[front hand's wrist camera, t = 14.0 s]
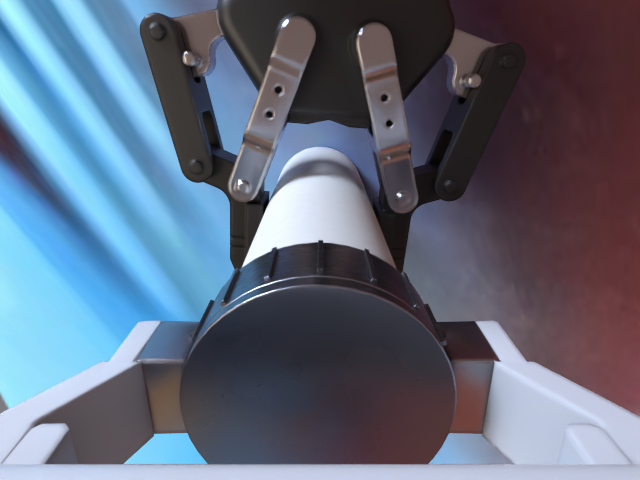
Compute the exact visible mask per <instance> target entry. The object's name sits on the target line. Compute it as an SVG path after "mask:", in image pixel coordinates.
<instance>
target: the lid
mask: <svg viewBox="0 0 640 480" xmlns="http://www.w3.org/2000/svg"><path fill="white" fill-rule="evenodd" d="M191 341H193V342H195V343H194V345H193V347H192V349H191V351H190V353H189V356H188V358H187V360H186V363H185V365H184V368H183V372H182V376H181V381H180V394H179V398H180V408H181V414H182V418H183V422H184V426H185V428H186V430H187V433H188V435H189V437H190V439H191V441H192V443H193V444H194V446H195V448H196V449H197V451H198V452H199V453H200V455H201V456H202V457H203V458H204V460H205V461H206V462H207V463H208V464H428V463H429V462H430V461H431V460H432V459H433V458H434V456H435V455H436V454H437V452H438V451H439V450H440V448H441V447H442V445H443V443H444V441H445V439H446V438H447V436H448V434H449V431H450V428H451V425H452V423H453V419H454V414H455V409H456V392H457V390H456V383H455V376H454V372H453V369H452V366H451V363H450V360H449V358H448V356H447V353H446V351H445V349H444V347H443V346H445V345H447V343H446V341H445V339H444V337H443V334H442V332H441V330H440V328H439V326H438V324H437V322H436V320H435V318H434V316H433V313H432V311H431V309H430V307H429V305H428V304H425V305H424V304H423V302H422V300H421V298H420V296H419V294H418V293H417V291H416V290H415V288H414V287H413V285H412V284H411V283H410V281H409V279H408V277H407V274H406V273H405V272H404V271H402V272H401V273H400V272H399V271H398V270H397V269H395V268H394V267H393V266H392V265H390V264H389V263H387V262H386V261H384V260H382V259H381V258H379V257H377V256H375V255H373V254H371V253H370V252H369V250H368V249H364V250H361V249H357V248H354V247H350V246H347V245H341V244H335V243H323V240H318V242H313V243H302V244H295V245H291V246H286V247H282V248H279V249H277V247H274V248H272V250H271V251H270V252H268V253H266V254H264V255H262V256H260V257H258V258H256V259H254V260H252V261H251V262H249V263H248V264H246V265H245V266H244V267H242V268H241V269H240V270H239V269H238V268H236V269H235V270H234V271H233V273H232V276H231V278H230V279H229V280H228V282H227V283H226V284H225V285H224V286H223V288H222V289H221V291H220V292H219V294H218V295H217V297H216V299H215V301H213V300H210V302H209V304H208V306H207V308H206V310H205V312H204V314H203V316H202V318H201V321H200V323H199V325H198V327H197V329H196V331H195V333H194V335H193V337H192V339H191Z"/></svg>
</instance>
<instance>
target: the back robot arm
mask: <svg viewBox="0 0 640 480" xmlns="http://www.w3.org/2000/svg"><path fill="white" fill-rule="evenodd" d="M140 35H141V38H142V42H143V45H144V48H145V51H146V55H147V58H148V61H149V65H150V68H151V71H152V75H153V78H154V81H155V84H156V88H157V91H158V94H159V98H160V101H161V104H162V107H163V111H164V114H165V117H166V121H167V124H168V127H169V131H170V134H171V137H172V140H173V144H174V147H175V150H176V154H177V157H178V160H179V163H180V167H181V170H182V173H183V174H184V176H185V177H186V178H187V179H188V180H190V181H192V182H197V183H200V182H205V183H207V184H210V185H212V186H214V187H217V188H219V189H220V190H222V191H223V192H224V193H225V194H226V195H227V197H228V199H229V202H230V259H231V262H232V264H233V266H234V269H236V268H238V269H239V270H240V269H241V268H242V266H243V263H244V261H245V259H246V256H247V254H248V251H249V249H250V247H251V244H252V242H253V239H254V237H255V235H256V232H257V230H258V227H259V225H260V223H261V220H262V218H263V216H264V213H265V211H266V208H267V206H268V204H269V191H264V181H265V178H266V176H267V173H268V171H269V168H270V165H271V163H272V160H273V158H274V155H275V153H276V150H277V147H278V145H279V143H280V140H281V138H282V135H283V133H284V130H285V128H286V125H287V123H288V122H289V123H302V124H310V123H315V122H320V121H325V120H331V121H334V122H337V123H340V124H342V125H345V126H348V127H355V128H366V130H367V134H368V139H369V143H370V146H371V149H372V153H373V157H374V162H375V167H376V171H377V176H378V180H379V185H380V191H379V199H378V200H377V199H373V204H372V208H373V210H374V213H375V216H376V218H377V221H378V223H379V226H380V228H381V231H382V233H383V236H384V238H385V241H386V243H387V246H388V248H389V251H390V253H391V256H392V258H393V261H394V263H395V266H396V269H397V270H398V271H399V272H400V273H401V272H402V271H403V265H404V257H405V252H406V246H407V239H408V233H409V226H410V220H411V216H412V214H413V212H414V211H415V210H416V209H417V208H418V207H419V206H420V205H422V204H425V203H428V202H432V201H436V200H439V199H442V200H444V201H454V200H457V199H458V198H460V197H461V196H462V195H463V193H464V192H465V190H466V187H467V185H468V183H469V181H470V179H471V177H472V175H473V173H474V171H475V169H476V166H477V164H478V162H479V160H480V158H481V156H482V154H483V152H484V150H485V147H486V145H487V143H488V141H489V139H490V137H491V135H492V133H493V131H494V128H495V126H496V124H497V122H498V120H499V118H500V116H501V114H502V112H503V110H504V107H505V105H506V103H507V101H508V99H509V97H510V95H511V93H512V91H513V88H514V86H515V84H516V82H517V80H518V78H519V76H520V74H521V72H522V69H523V67H524V65H525V60H526V56H525V52H524V50H523V48H522V47H521V46H520V45H518V44H516V43H500V44H494V43H491V42H489V41H486V40H484V39H481V38H479V37H476V36H474V35H471V34H469V33H466V32H464V31H461V30H459V29H456V28H455V20H454V15H453V12H452V10H451V7H450V3H449V0H218V4H217V9H212V10H208V11H203V12H199V13H194V14H189V15H185V16H180V17H175V18H170V17H168V16H165V15H163V14H160V13H150V14H148V15H146V16H145V17H144V18H143V20H142V22H141V24H140ZM223 40H226V41H227V43H228V45H229V46H230V48H231V49H232V51H233V52H234V54H235V56H236V57H237V59H238V60H239V62H240V63H241V65H242V67H243V68H244V70H245V71H246V73H247V75H248V76H249V78H250V79H251V81H252V82H253V84H254V86H255V87H256V89H257V90H258V92H259V93H258V96H257V98H256V101H255V104H254V107H253V110H252V112H251V115H250V118H249V121H248V124H247V126H246V129H245V132H244V136H243V142H242V145H241V148H240V151H239V153H238V156H237V155H234V154H232V153H230V152H227V151H225V150H224V149H223V145H222V141H221V137H220V134H219V130H218V126H217V122H216V118H215V115H214V111H213V107H212V103H211V100H210V96H209V92H208V88H207V84H206V81H205V76H208V75H210V74H211V73H212V72H213V70H214V69H215V66H216V56H215V53H216V49H217V46H218V45H219V43H220V42H221V41H223ZM441 57H442V58H443V59H444V60H445V61H446V63H447V66H448V75H447V78H446V86H447V89H448V91H449V92H450V93H451V94H452V95H454V98H453V100H452V102H451V105H450V107H449V109H448V112H447V114H446V116H445V119H444V121H443V123H442V126H441V128H440V130H439V133H438V135H437V137H436V140H435V142H434V144H433V147H432V149H431V151H430V153H429V156H428V158H427V160H426V163H425V165H422V166H419V167H415V168H413V165H412V160H411V143H410V138H409V132H408V127H407V122H406V116H405V111H404V106H403V101H404V100H405V99H406V97H407V96H408V95H409V94H410V93H411V92H412V91H413V89H414V88H415V87H416V86H417V85H418V84H419V83H420V81H421V80H422V79H423V78H424V77H425V76H426V74H427V73H428V72H429V71H430V70H431V69H432V68H433V66H434V65H435V64H436V63H437V62H438V61H439V59H440V58H441Z"/></svg>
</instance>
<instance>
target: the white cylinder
mask: <svg viewBox="0 0 640 480" xmlns="http://www.w3.org/2000/svg"><path fill="white" fill-rule="evenodd" d="M318 240H323V243H335V244H341V245H347V246H350V247H354V248H357V249H361V250H364V249H368V250H369V252H370V253H371V254H373V255H375V256H377V257H379V258H381V259H382V260H384V261H386V262H387V263H389V264H390V265H392V266H393V267H394V268H395V269H396V266H395V263H394V261H393V258H392V256H391V253H390V251H389V248H388V246H387V243H386V241H385V238H384V236H383V233H382V231H381V228H380V226H379V223H378V221H377V218H376V216H375V213H374V210H373V208H372V205H371V203H370V200H369V198H368V195H367V193H366V190H365V188H364V185H363V183H362V180H361V178H360V175H359V173H358V170H357V168H356V167H355V165H354V164H353V162H352V161H351V160H350V159H349V158H348V157H347V156H345V155H344V154H343V153H341V152H339V151H337V150H334V149H331V148H327V147H313V148H309V149H305V150H303V151H301V152H299V153H297V154H296V155H294V156H293V157H292V158H291V159H290V160H289V161H288V162H287V164H286V165H285V167H284V168H283V170H282V172H281V175H280V177H279V180H278V182H277V184H276V187H275V189H274V192H273V194H272V196H271V199H270V201H269V204H268V206H267V208H266V211H265V213H264V216H263V218H262V220H261V223H260V225H259V227H258V230H257V232H256V235H255V237H254V239H253V242H252V244H251V247H250V249H249V251H248V254H247V256H246V259H245V261H244V263H243V266H242V267H244V266H245V265H246V264H248V263H249V262H251V261H252V260H254V259H256V258H258V257H260V256H262V255H264V254H266V253H268V252H270V251H271V250H272V248H274V247H277V249H279V248H282V247H286V246H291V245H295V244H302V243H313V242H318Z"/></svg>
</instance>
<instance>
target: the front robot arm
mask: <svg viewBox="0 0 640 480" xmlns="http://www.w3.org/2000/svg"><path fill="white" fill-rule="evenodd" d="M199 323H200V322H187V321H141V322H138V323H137V324H136V326H135V327H134V328H133V330H132V331H131V332H130V334H129V335H128V336H127V338H126V339H125V340H124V342H123V343H122V344H121V346H120V347H119V348H118V350H117V351H116V352H115V354H114V355H113V356H112V358H111V359H110V360H109V362H100V363H98V364H96V365H94V366H92V367H90V368H88V369H87V370H85V371H83V372H81V373H79V374H77V375H75V376H73V377H71V378H69V379H67V380H65V381H63V382H61V383H59V384H57V385H55V386H53V387H51V388H49V389H47V390H45V391H44V392H42V393H40V394H38V395H36V396H34V397H32V398H30V399H28V400H26V401H24V402H22V403H20V404H18V405H16V406H14V407H12V408H10V409H8V410H6V411H4V412H2V413H0V480H640V416H638V415H636V414H634V413H632V412H630V411H628V410H626V409H624V408H622V407H620V406H618V405H617V404H615V403H613V402H611V401H609V400H607V399H605V398H603V397H601V396H599V395H597V394H595V393H593V392H591V391H590V390H588V389H586V388H584V387H582V386H580V385H578V384H576V383H574V382H572V381H570V380H568V379H566V378H564V377H562V376H561V375H559V374H557V373H555V372H553V371H551V370H549V369H547V368H545V367H543V366H541V365H539V364H537V363H535V362H527V361H526V360H525V358H524V357H523V355H522V354H521V353H520V351H519V350H518V349H517V347H516V346H515V345H514V343H513V342H512V341H511V339H510V338H509V337H508V335H507V334H506V333H505V331H504V330H503V328H502V327H501V326H500V324H499V323H498V322H496V321H467V322H437V324H438V326H439V328H440V330H441V332H442V334H443V337H444V339H445V341H446V343H447V345H445V346H443V347H444V349H445V351H446V353H447V356H448V358H449V360H450V363H451V366H452V369H453V372H454V376H455V383H456V390H457V392H456V409H455V414H454V419H453V423H452V425H451V428H450V431H449V433H474V434H482V436H483V437H484V438H485V439H486V440H487V441H489V442H490V443H491V444H492V445H493V446H494V447H495V448H496V449H497V450H498V451H499V452H500V453H502V454H503V455H504V456H505V457H506V458H507V459H508V460H509V461H510V462H511V463H512V464H123V463H124V462H126V461H127V460H128V459H129V458H130V457H131V456H132V455H133V454H134V453H136V452H137V451H138V450H139V449H140V448H141V447H142V446H143V445H144V444H145V443H147V442H148V441H149V440H150V439H151V438H152V437H153V436H154V434H162V433H187V430H186V428H185V426H184V422H183V418H182V414H181V408H180V398H179V394H180V381H181V376H182V372H183V368H184V365H185V363H186V360H187V358H188V356H189V353H190V351H191V349H192V347H193V345H194V343H195V342H193V341H191V339H192V337H193V335H194V333H195V331H196V329H197V327H198V325H199Z"/></svg>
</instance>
